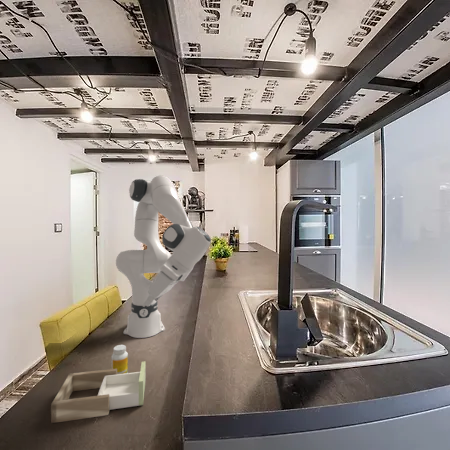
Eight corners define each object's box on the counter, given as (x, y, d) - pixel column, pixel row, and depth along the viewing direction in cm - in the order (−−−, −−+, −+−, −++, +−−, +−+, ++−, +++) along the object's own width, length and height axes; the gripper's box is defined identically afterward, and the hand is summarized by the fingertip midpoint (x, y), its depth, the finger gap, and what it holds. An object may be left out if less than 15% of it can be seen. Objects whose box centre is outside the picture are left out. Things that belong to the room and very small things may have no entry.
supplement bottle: (108, 374, 91) (108, 347, 91) (123, 368, 95) (123, 342, 95) (115, 381, 87) (115, 352, 87) (130, 374, 91) (130, 347, 91)
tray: (104, 387, 84) (104, 365, 84) (145, 382, 87) (145, 361, 86) (96, 411, 73) (96, 386, 73) (142, 404, 76) (143, 381, 76)
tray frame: (69, 389, 83) (69, 373, 83) (117, 383, 86) (117, 368, 86) (51, 423, 69) (51, 404, 69) (108, 414, 73) (108, 397, 72)
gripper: (175, 262, 101) (153, 291, 100) (161, 265, 80) (132, 301, 79) (188, 272, 100) (165, 302, 99) (177, 277, 80) (148, 315, 79)
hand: (151, 302), depth 89 cm, fingers open, 8 cm apart
